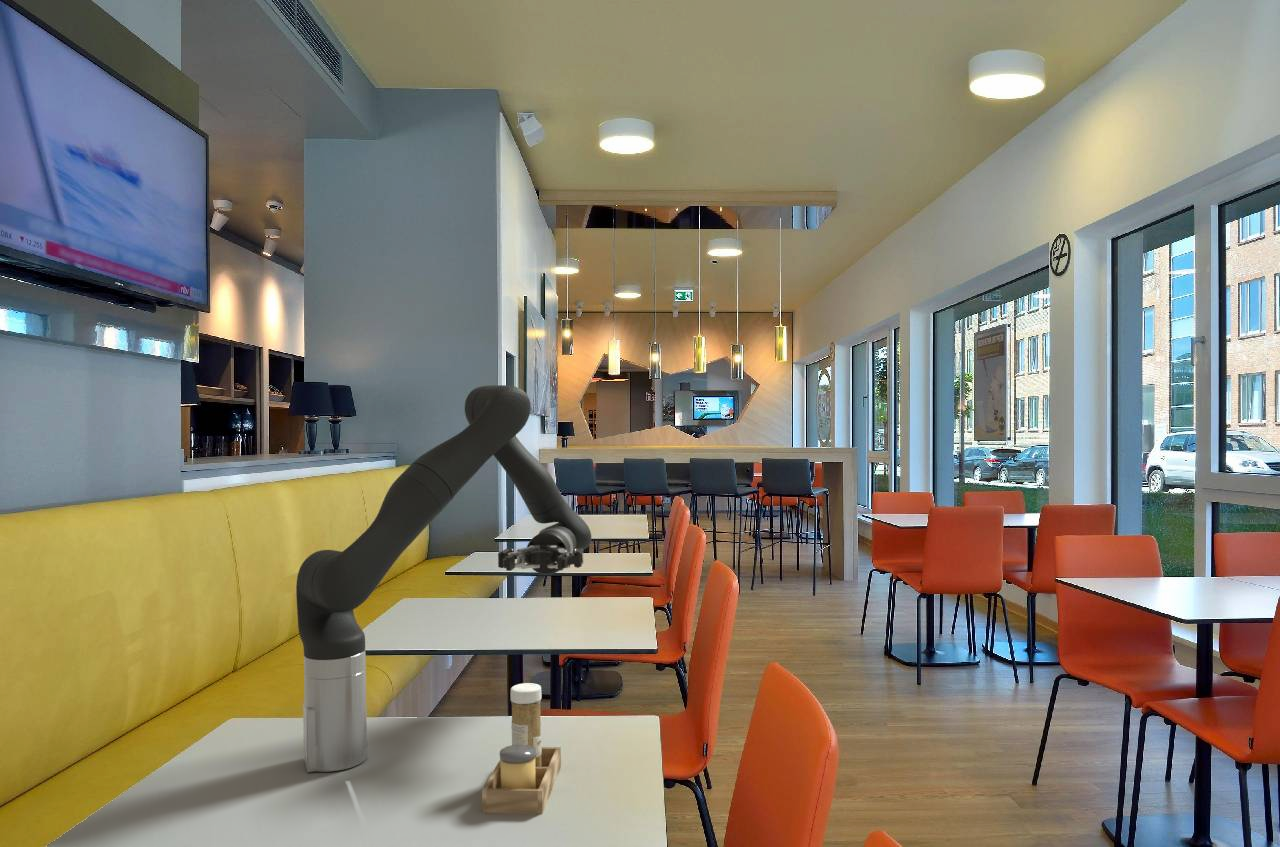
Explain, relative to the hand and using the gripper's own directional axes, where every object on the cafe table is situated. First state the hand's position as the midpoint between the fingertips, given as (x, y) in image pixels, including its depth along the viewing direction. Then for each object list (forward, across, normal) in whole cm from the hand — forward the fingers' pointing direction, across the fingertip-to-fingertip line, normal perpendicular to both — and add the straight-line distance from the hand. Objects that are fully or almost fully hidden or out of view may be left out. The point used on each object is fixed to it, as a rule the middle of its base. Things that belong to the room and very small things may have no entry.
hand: (533, 564), depth 142 cm
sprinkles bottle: (+13, +1, +30) cm, 33 cm away
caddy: (+17, +1, +30) cm, 35 cm away
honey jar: (+21, +1, +30) cm, 36 cm away
